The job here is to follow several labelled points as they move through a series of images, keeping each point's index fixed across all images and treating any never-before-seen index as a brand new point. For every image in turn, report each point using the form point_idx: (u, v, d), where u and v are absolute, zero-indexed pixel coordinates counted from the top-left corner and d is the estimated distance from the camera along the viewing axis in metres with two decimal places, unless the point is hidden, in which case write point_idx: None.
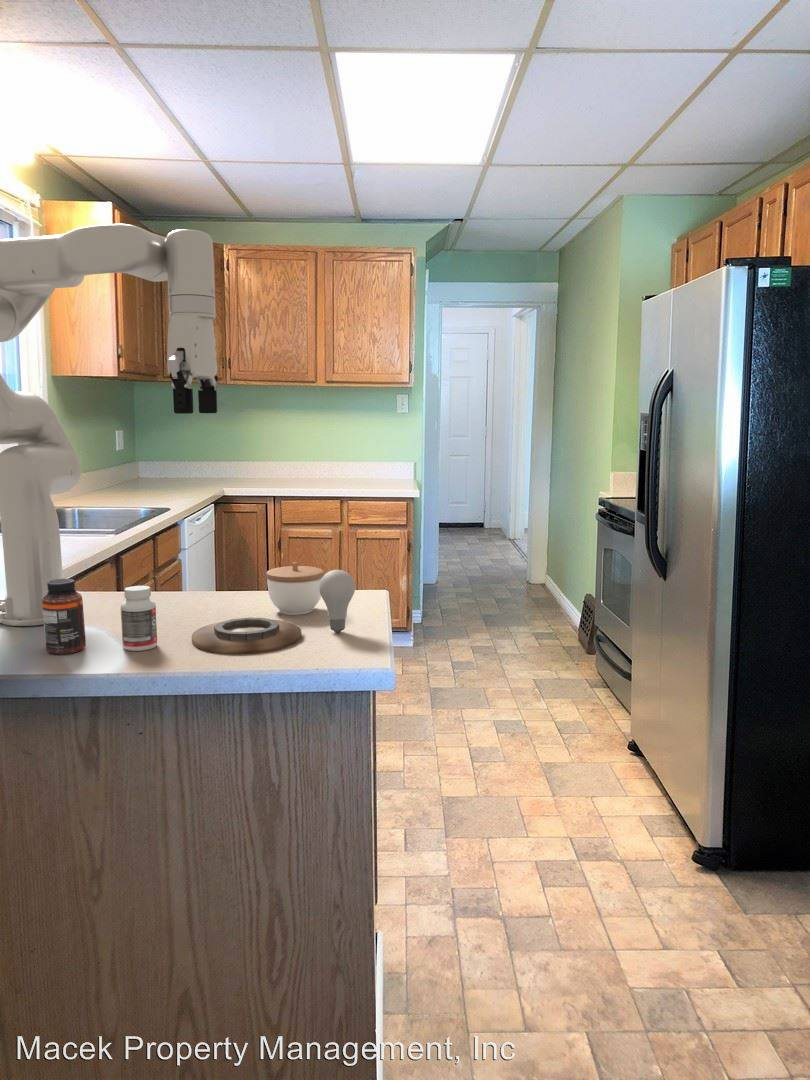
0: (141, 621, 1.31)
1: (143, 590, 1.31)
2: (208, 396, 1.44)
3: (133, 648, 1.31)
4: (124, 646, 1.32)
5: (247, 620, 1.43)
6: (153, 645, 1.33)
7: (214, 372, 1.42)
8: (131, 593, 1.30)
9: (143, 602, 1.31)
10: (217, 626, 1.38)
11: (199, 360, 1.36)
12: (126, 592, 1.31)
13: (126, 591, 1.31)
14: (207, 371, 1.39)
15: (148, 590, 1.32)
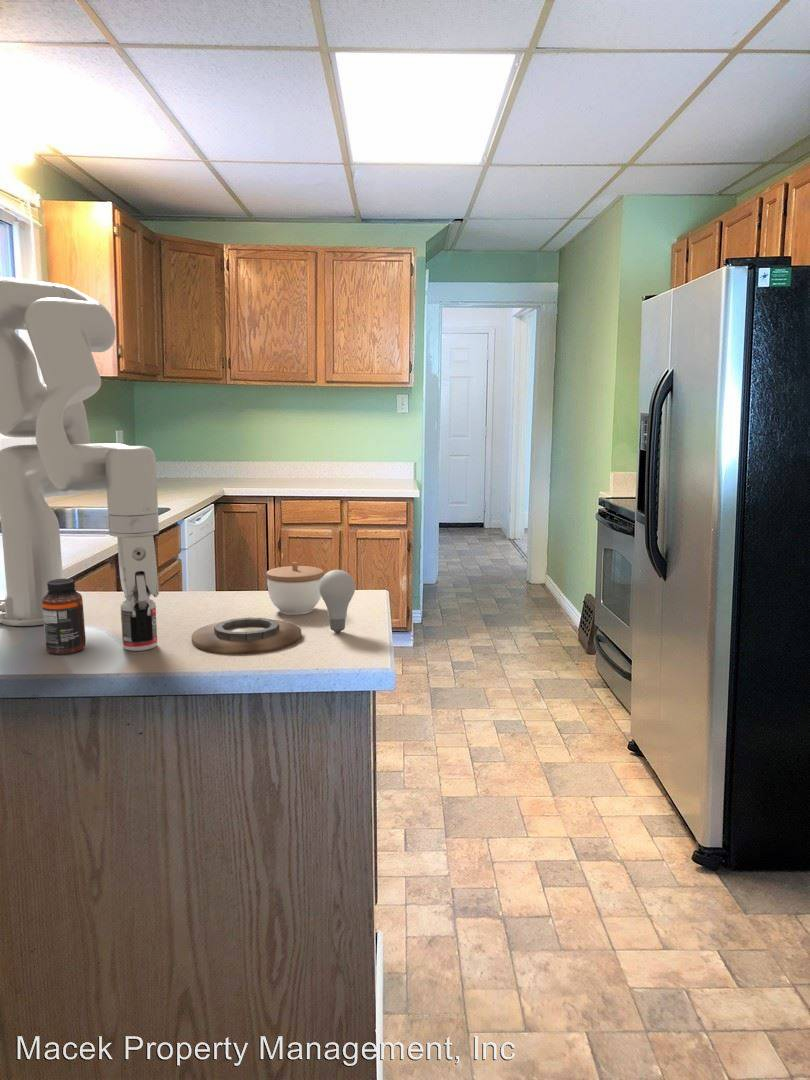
0: None
1: None
2: None
3: (133, 648, 1.31)
4: (124, 646, 1.32)
5: (247, 620, 1.43)
6: (153, 645, 1.33)
7: (126, 593, 1.28)
8: None
9: None
10: (217, 626, 1.38)
11: None
12: None
13: None
14: (123, 588, 1.31)
15: None
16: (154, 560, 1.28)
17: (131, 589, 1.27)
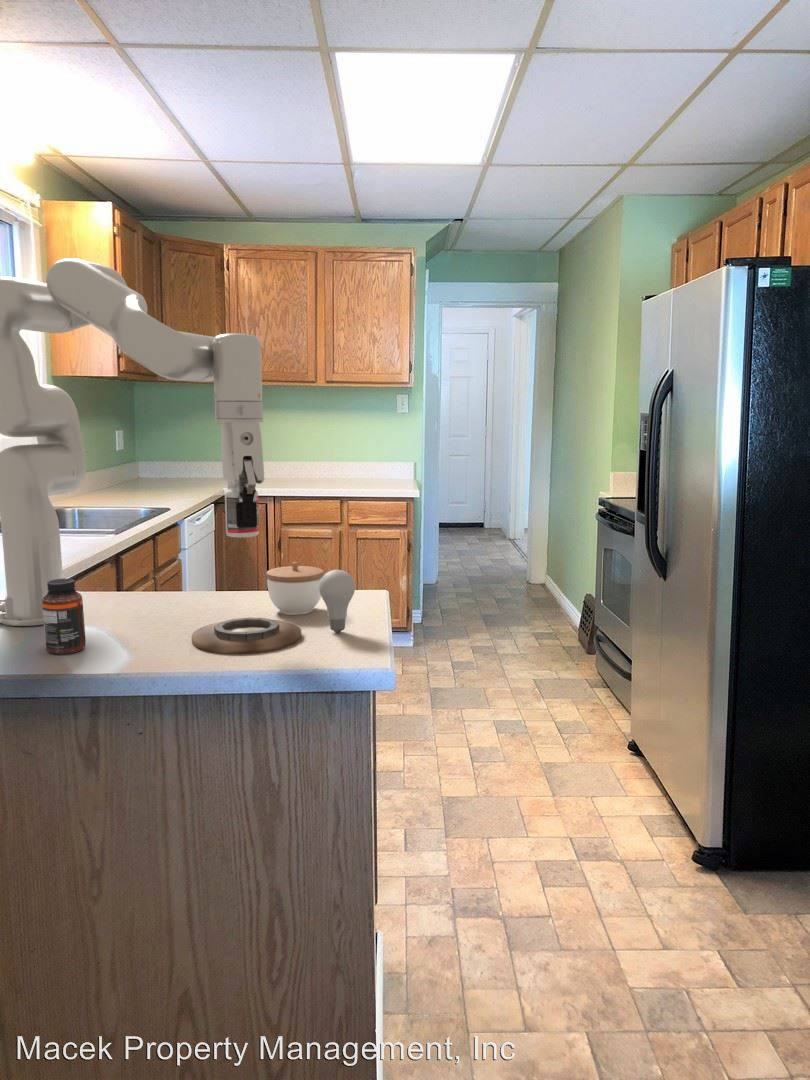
0: None
1: None
2: None
3: (238, 534, 1.33)
4: (228, 533, 1.34)
5: (247, 620, 1.43)
6: (256, 533, 1.35)
7: (233, 478, 1.31)
8: None
9: None
10: (217, 626, 1.38)
11: (222, 464, 1.36)
12: None
13: None
14: (228, 476, 1.34)
15: None
16: (261, 446, 1.30)
17: (239, 473, 1.29)
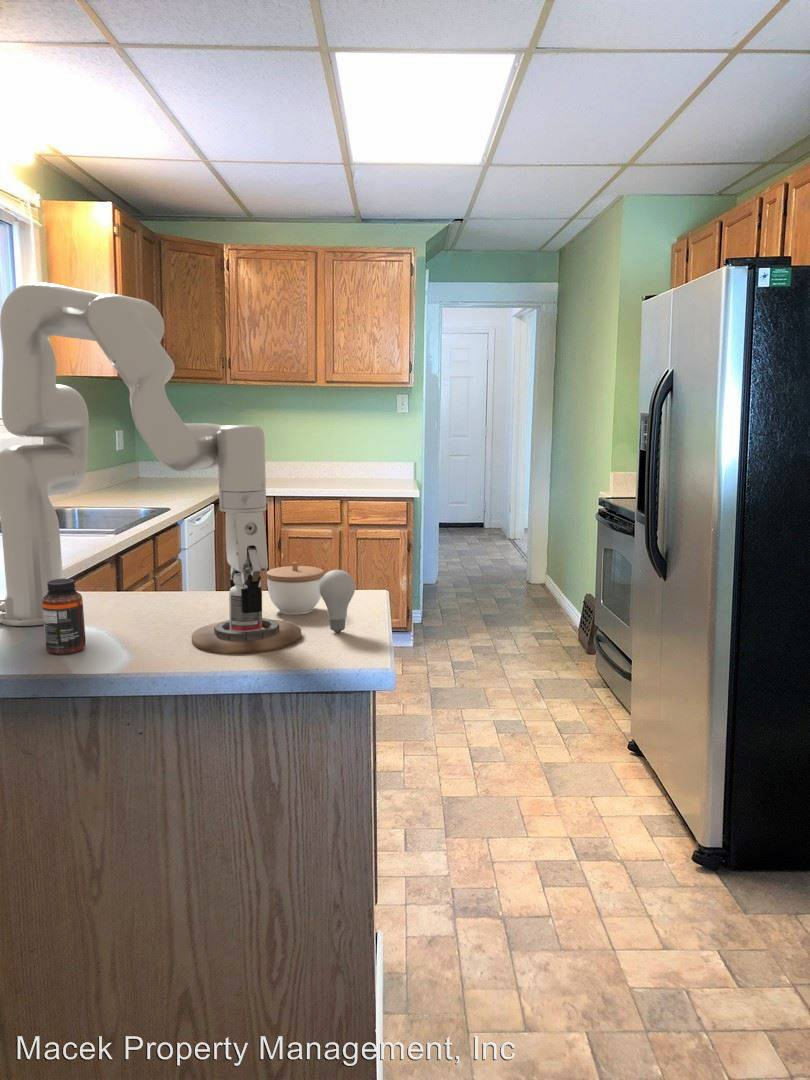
0: None
1: None
2: None
3: None
4: (232, 630, 1.37)
5: None
6: (259, 629, 1.38)
7: (237, 567, 1.33)
8: (241, 578, 1.36)
9: None
10: (217, 626, 1.38)
11: (226, 550, 1.38)
12: (236, 577, 1.36)
13: (236, 576, 1.36)
14: (232, 563, 1.36)
15: None
16: (264, 535, 1.33)
17: (243, 559, 1.31)
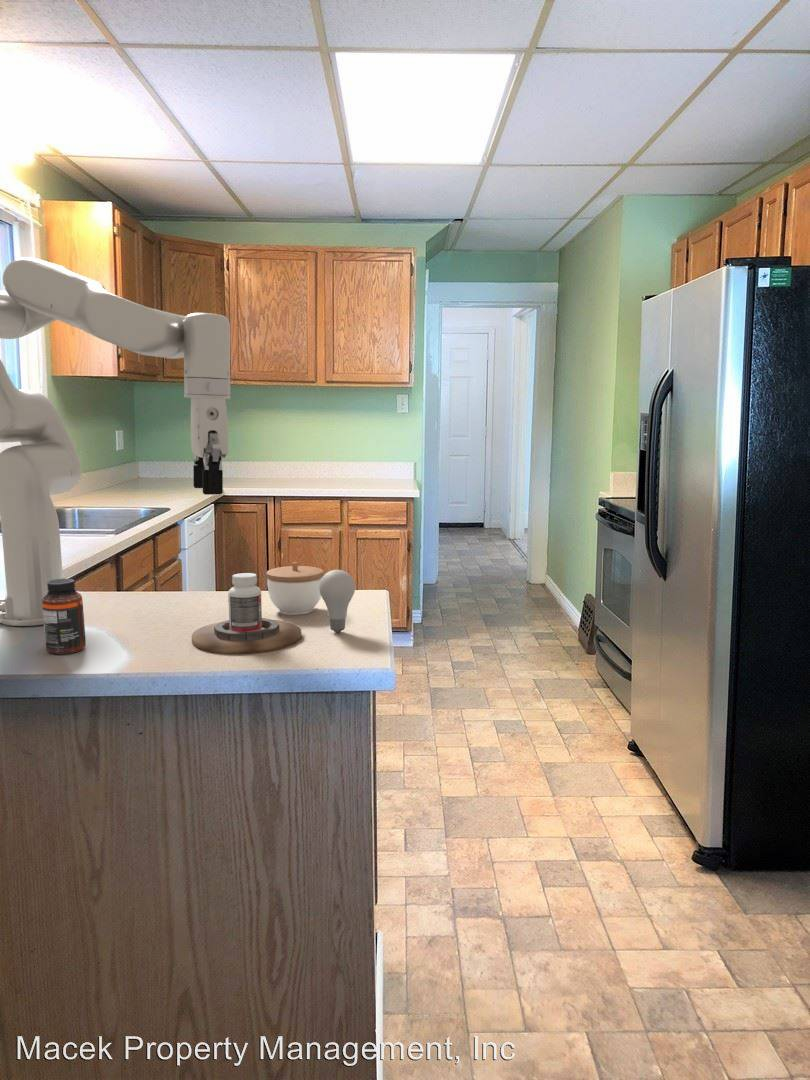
0: (250, 606, 1.36)
1: (251, 577, 1.36)
2: None
3: None
4: None
5: None
6: None
7: (198, 451, 1.37)
8: (239, 579, 1.35)
9: (251, 588, 1.36)
10: (217, 626, 1.38)
11: (191, 438, 1.42)
12: (235, 579, 1.36)
13: (235, 578, 1.36)
14: (194, 450, 1.40)
15: (255, 577, 1.37)
16: (226, 421, 1.37)
17: (204, 440, 1.35)
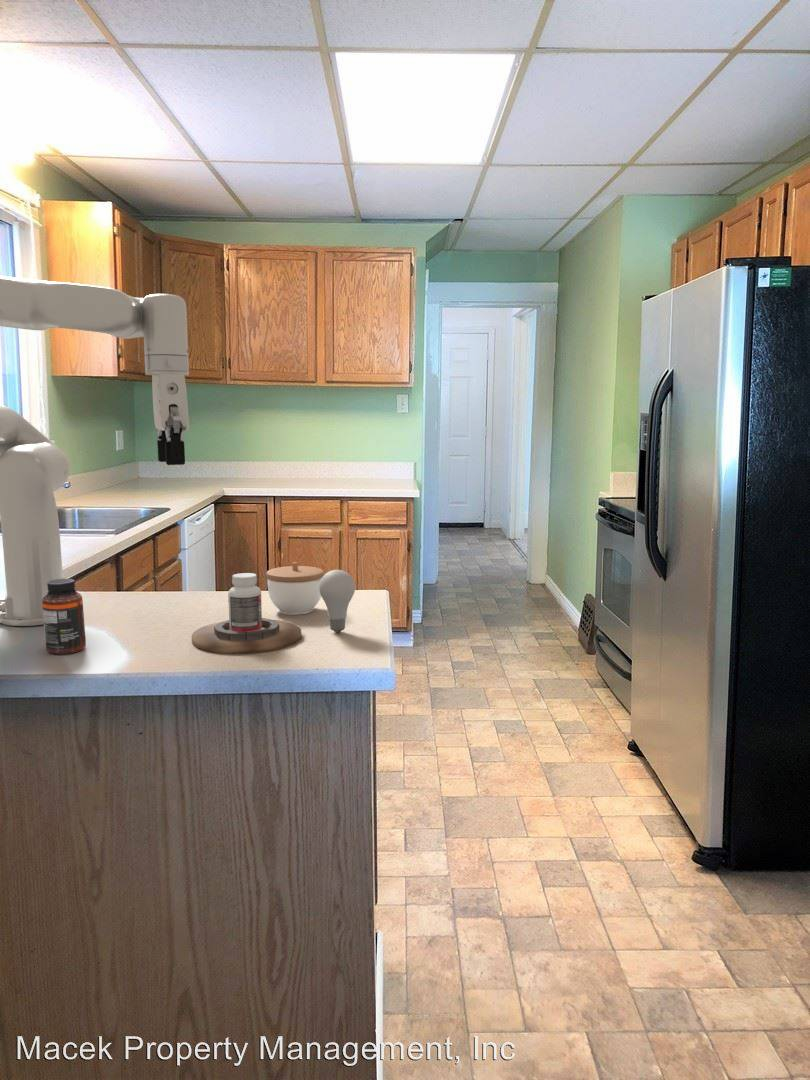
0: (250, 606, 1.36)
1: (251, 577, 1.36)
2: None
3: None
4: None
5: None
6: None
7: (160, 424, 1.45)
8: (239, 579, 1.35)
9: (251, 588, 1.36)
10: (217, 626, 1.38)
11: None
12: (235, 579, 1.36)
13: (235, 578, 1.36)
14: (157, 424, 1.48)
15: (255, 577, 1.37)
16: (185, 395, 1.45)
17: (165, 413, 1.43)
